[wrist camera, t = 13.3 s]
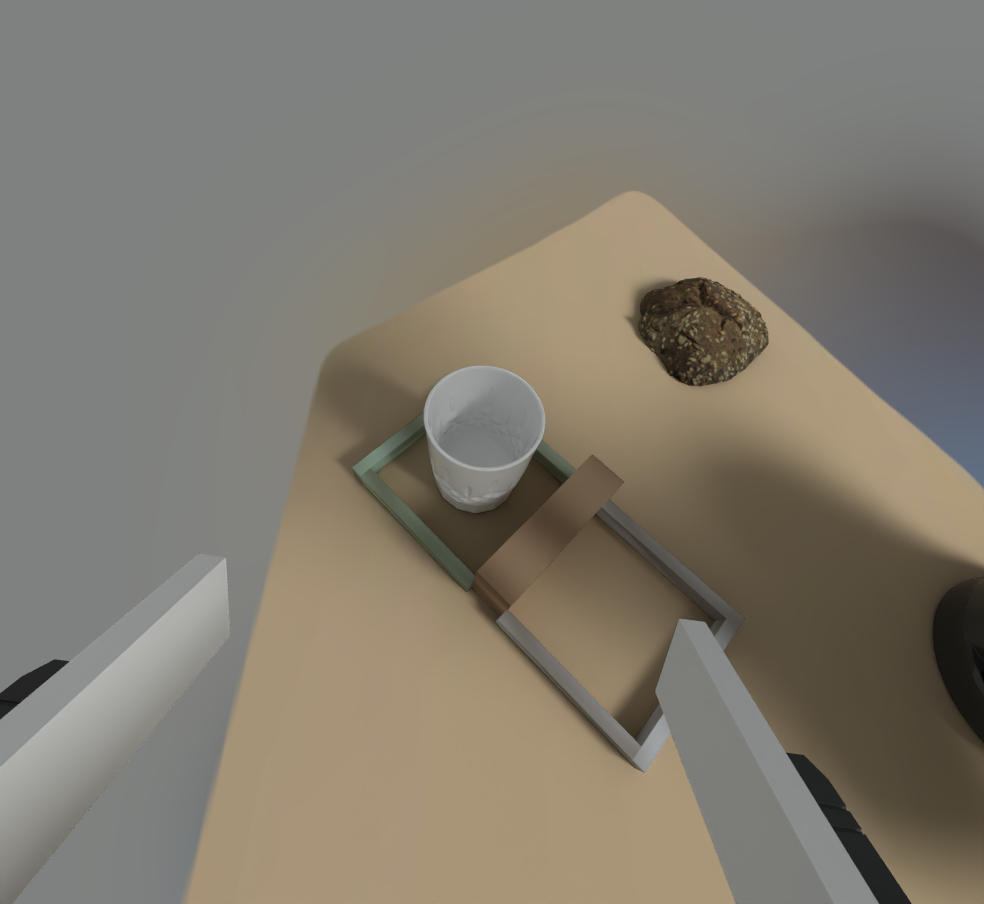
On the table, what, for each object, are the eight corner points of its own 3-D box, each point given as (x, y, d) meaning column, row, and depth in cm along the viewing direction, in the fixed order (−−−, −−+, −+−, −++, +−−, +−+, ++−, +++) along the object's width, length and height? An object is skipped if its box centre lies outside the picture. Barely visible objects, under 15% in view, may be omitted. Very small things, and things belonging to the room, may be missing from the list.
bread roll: (775, 356, 48) (809, 323, 44) (691, 403, 44) (719, 373, 40) (694, 275, 52) (717, 238, 48) (611, 312, 48) (628, 276, 44)
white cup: (430, 432, 40) (426, 362, 31) (519, 435, 40) (541, 367, 32) (425, 519, 36) (420, 468, 27) (523, 521, 37) (549, 472, 28)
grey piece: (468, 386, 42) (472, 344, 37) (732, 620, 35) (784, 611, 30) (355, 475, 37) (340, 442, 32) (635, 768, 30) (677, 788, 25)
